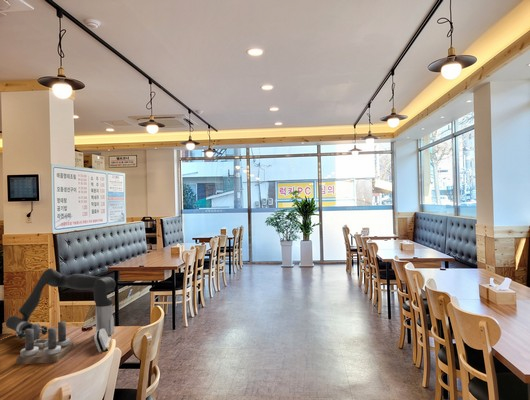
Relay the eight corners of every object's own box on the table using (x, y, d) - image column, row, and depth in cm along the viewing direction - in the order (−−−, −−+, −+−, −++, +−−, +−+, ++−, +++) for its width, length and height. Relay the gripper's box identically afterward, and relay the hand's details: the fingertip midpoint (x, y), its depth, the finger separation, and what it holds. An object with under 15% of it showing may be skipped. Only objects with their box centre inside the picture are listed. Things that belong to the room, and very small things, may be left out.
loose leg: (40, 345, 209) (40, 323, 209) (37, 347, 205) (37, 325, 205) (34, 345, 208) (33, 323, 209) (30, 348, 205) (30, 325, 205)
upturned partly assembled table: (73, 347, 204) (73, 319, 204) (57, 362, 185) (57, 331, 185) (36, 349, 202) (36, 321, 203) (16, 364, 184) (15, 333, 184)
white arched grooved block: (109, 350, 198) (101, 333, 198) (100, 355, 197) (92, 337, 196) (112, 340, 214) (105, 324, 214) (103, 344, 213) (97, 327, 212)
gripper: (11, 325, 211) (22, 331, 200) (39, 319, 222) (51, 324, 211) (11, 339, 210) (22, 345, 200) (40, 332, 221) (51, 337, 211)
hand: (37, 334), depth 205 cm, fingers open, 7 cm apart
